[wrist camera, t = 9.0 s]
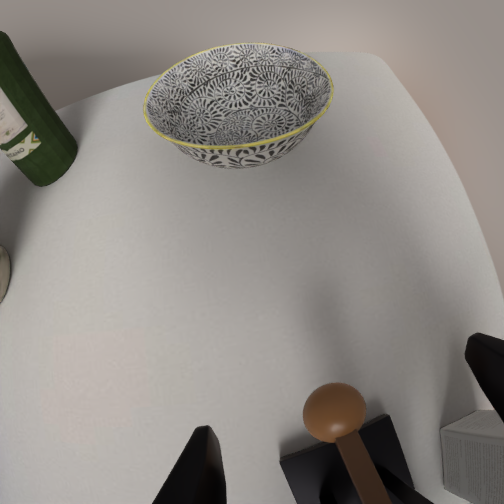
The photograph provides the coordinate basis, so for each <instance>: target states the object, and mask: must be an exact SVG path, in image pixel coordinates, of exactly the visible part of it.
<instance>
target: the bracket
mask: <svg viewBox="0 0 504 504" xmlns="http://www.w3.org/2000/svg"><path fill="white" fill-rule="evenodd" d="M358 433H359V435H360V437H361V440H362V442H363V444H364V446H365V448H366V450H367V452H368V454H369V456H370V458H371V460H372V462H373V464H374V466H375V468H376V470H377V472H378V475H379V477H380V479H381V481H382V483H383V485H384V487H385V489H386V491H387V493H388V495H389V498H390V500H391V502H392V504H434V503H432V502H431V501H429V500H428V499H427V498H425V497H424V496H422V495H421V494H420V493H418V492H417V491H415V488H414V484H413V481H412V478H411V475H410V472H409V469H408V466H407V463H406V460H405V457H404V454H403V451H402V448H401V446H400V443H399V440H398V437H397V434H396V432H395V429H394V426H393V423H392V421H391V418H390V415H387V414H382V415H380V416H378V417H376V418H375V419H373V420H371V421H369V422H366V423H364V424H363V425H362V426H361V428H360V429H359V431H358ZM279 462H280V465H281V467H282V470H283V472H284V474H285V477H286V479H287V481H288V484H289V486H290V488H291V491H292V493H293V495H294V498H295V500H296V502H297V504H362V502H361V499H360V497H359V495H358V493H357V491H356V488H355V486H354V484H353V482H352V479H351V477H350V475H349V473H348V470H347V468H346V466H345V464H344V461H343V459H342V457H341V455H340V452H339V450H338V448H337V446H336V444H335V443H329V442H321V443H319V444H316V445H314V446H311V447H309V448H306V449H303V450H301V451H298V452H295V453H292V454H289V455H286V456H283V457H280V461H279Z"/></svg>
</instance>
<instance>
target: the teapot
mask: <svg viewBox="0 0 504 504" xmlns="http://www.w3.org/2000/svg"><path fill="white" fill-rule="evenodd" d="M9 277H10V260H9V256H8V254H7V252H6V250H5V249H4V248H3V247H2V246H1V245H0V303H1V301H2V299H3V297H4V295H5V292H6V290H7V286H8V282H9Z"/></svg>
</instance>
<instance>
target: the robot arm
mask: <svg viewBox="0 0 504 504" xmlns="http://www.w3.org/2000/svg"><path fill="white" fill-rule="evenodd" d="M465 359H466V361H467V363H468V365H469V367H470V368H471V370H472V372H473V374H474V376H475V378H476V379H477V381H478V383H479V385H480V387H481V389H482V390H483V392H484V394H485V395H486V397H487V398H488V400H489V401H490V403H491V404H492V406H493V407H494V409H495V410H496V412H497V413H498V415H499V417H500V418H501V420H502V421H503V423H504V340H502V339H498V338H495V337H492V336H489V335H485V334H482V333H475V334H473V335H471V336H470V337H469V338H468V340H467V345H466V350H465ZM152 504H227V497H226V481H225V475H224V469H223V462H222V456H221V449H220V443H219V440H218V438H217V436H216V435H215V433H214V431H213V430H212V428H211V427H210V426H209V425H206V426H199V427H197V428H196V429H195V430H194V432H193V434H192V436H191V437H190V439H189V441H188V443H187V445H186V446H185V448H184V450H183V452H182V453H181V455H180V457H179V459H178V460H177V462H176V464H175V465H174V467H173V469H172V471H171V472H170V474H169V476H168V478H167V479H166V481H165V483H164V484H163V486H162V488H161V489H160V491H159V493H158V494H157V496H156V498H155V499H154V501H153V503H152Z"/></svg>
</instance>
